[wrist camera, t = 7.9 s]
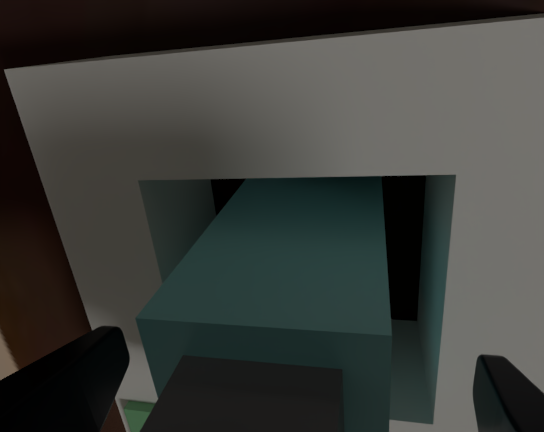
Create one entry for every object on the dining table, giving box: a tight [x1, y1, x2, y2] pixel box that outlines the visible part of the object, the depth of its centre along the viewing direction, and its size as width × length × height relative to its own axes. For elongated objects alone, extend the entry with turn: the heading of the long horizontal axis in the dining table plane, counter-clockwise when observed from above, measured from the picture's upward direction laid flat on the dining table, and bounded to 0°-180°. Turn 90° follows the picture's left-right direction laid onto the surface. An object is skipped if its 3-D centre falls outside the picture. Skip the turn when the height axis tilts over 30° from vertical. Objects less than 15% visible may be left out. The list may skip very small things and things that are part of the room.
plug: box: [135, 176, 392, 432], centre depth 9 cm, size 4×4×9 cm
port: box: [4, 13, 544, 432], centre depth 11 cm, size 12×12×4 cm
